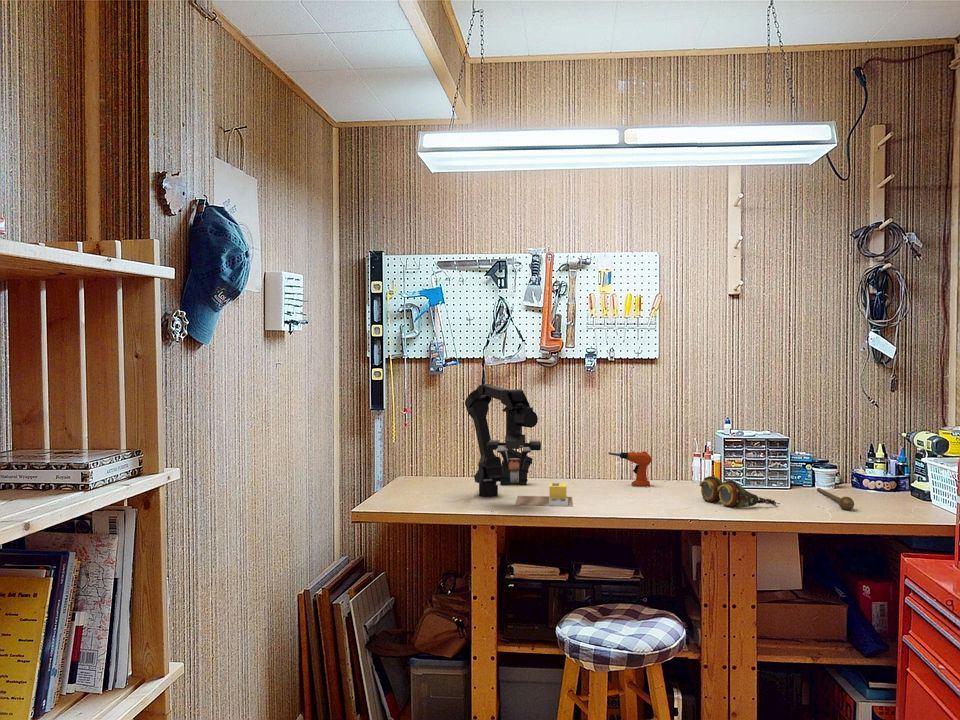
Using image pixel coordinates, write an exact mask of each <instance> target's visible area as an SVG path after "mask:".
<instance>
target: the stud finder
mask: <svg viewBox="0 0 960 720" xmlns="http://www.w3.org/2000/svg"><path fill="white" fill-rule="evenodd" d="M549 496H550V497H555V498H566V497H567V482H549Z"/></svg>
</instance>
